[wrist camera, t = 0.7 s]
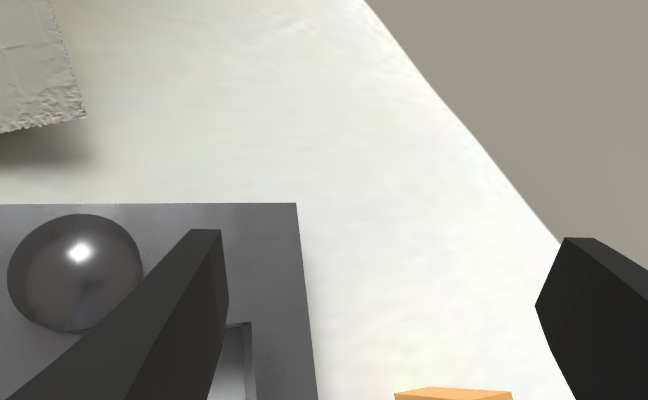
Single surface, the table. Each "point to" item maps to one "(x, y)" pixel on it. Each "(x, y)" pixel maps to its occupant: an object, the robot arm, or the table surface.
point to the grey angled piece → (34, 68)
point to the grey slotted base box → (134, 264)
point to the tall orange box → (452, 394)
